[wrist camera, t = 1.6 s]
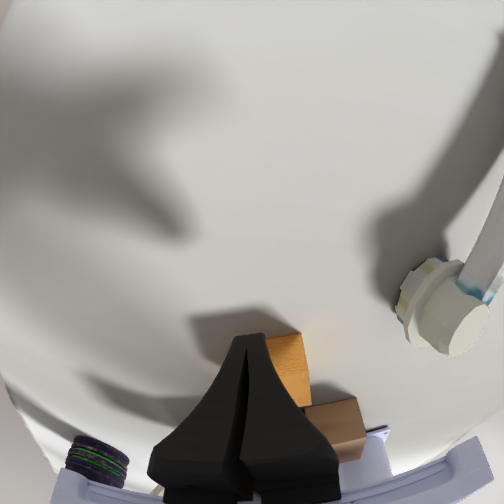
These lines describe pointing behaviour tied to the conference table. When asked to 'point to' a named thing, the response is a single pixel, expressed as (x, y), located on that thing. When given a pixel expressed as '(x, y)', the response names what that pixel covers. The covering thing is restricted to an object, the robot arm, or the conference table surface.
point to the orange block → (291, 366)
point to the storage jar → (97, 461)
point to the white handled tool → (455, 291)
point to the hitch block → (340, 427)
